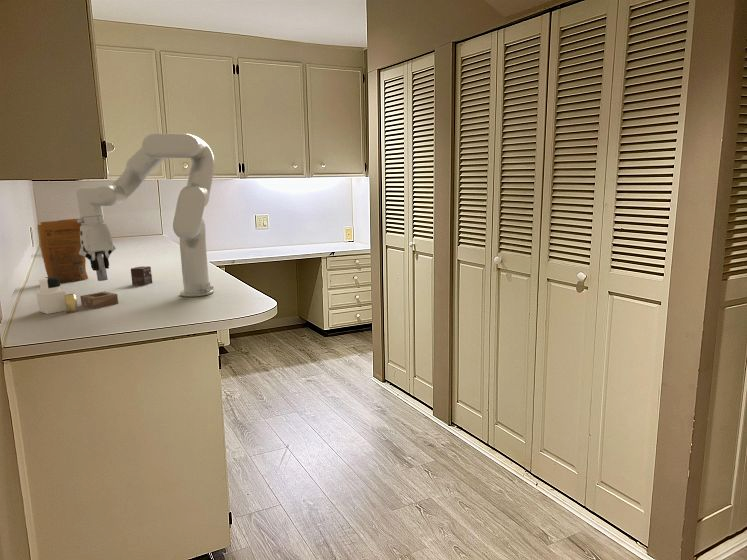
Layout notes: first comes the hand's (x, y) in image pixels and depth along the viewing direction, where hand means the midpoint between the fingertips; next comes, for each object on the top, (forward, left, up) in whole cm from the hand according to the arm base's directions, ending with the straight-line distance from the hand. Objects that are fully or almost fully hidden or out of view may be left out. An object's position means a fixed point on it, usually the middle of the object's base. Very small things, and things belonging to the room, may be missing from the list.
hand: (100, 268), depth 207 cm
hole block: (-8, +6, -12) cm, 15 cm away
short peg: (-10, +17, -12) cm, 23 cm away
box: (+15, -24, -12) cm, 31 cm away
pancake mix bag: (+52, -10, -12) cm, 54 cm away
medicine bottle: (-3, +20, -12) cm, 23 cm away
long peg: (0, 0, -4) cm, 4 cm away
